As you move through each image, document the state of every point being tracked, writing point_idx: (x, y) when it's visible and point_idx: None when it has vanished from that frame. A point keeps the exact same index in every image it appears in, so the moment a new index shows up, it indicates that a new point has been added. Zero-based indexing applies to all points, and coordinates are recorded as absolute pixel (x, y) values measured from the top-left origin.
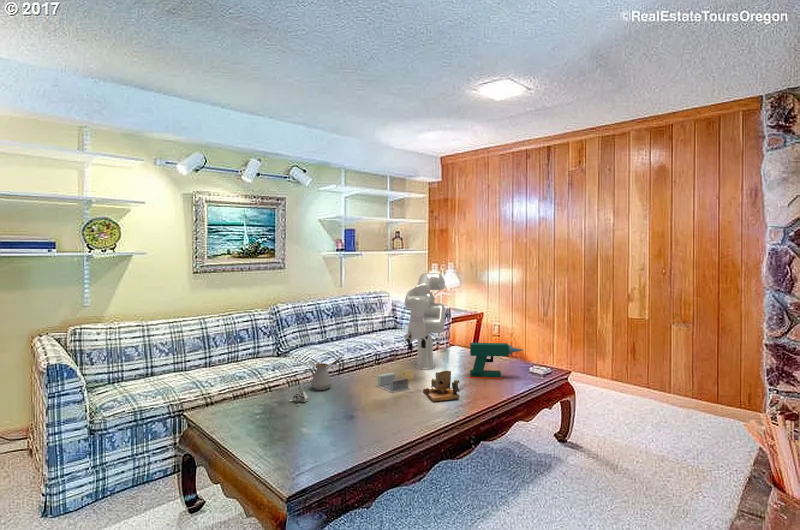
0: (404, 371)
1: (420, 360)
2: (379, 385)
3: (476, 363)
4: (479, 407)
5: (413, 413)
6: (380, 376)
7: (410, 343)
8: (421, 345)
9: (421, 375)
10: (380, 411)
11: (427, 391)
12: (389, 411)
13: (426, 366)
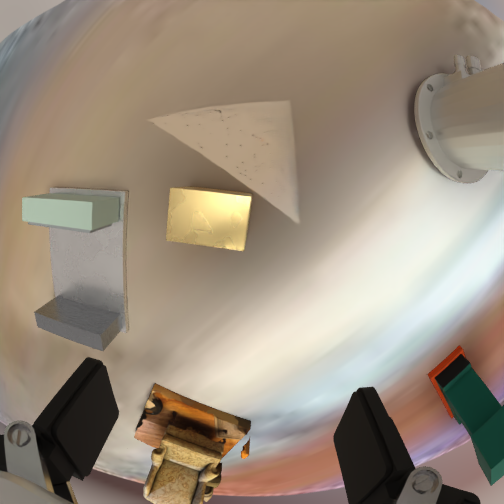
0: (167, 229)
1: (455, 114)
2: None
3: (462, 418)
4: None
5: None
6: (25, 220)
7: (59, 460)
8: (363, 415)
9: (363, 188)
10: (14, 371)
11: (141, 418)
12: (27, 385)
13: (450, 155)
